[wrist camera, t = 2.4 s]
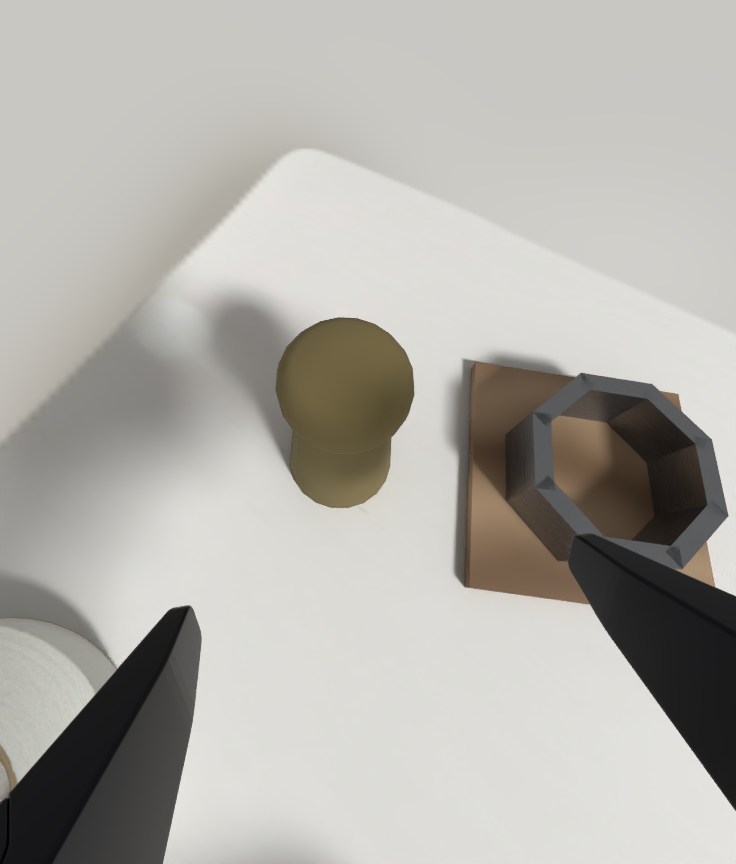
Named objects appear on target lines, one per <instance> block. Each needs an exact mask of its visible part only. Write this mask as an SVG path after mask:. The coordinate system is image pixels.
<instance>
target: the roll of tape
mask: <svg viewBox="0 0 736 864" xmlns="http://www.w3.org/2000/svg"><path fill="white" fill-rule="evenodd" d="M116 670H117V669H116V667H115V666H114V665H113V663H112V662H111V661H110V660H109V659H108V658H107V657H106V656H105V655H104V653H103V652H102V651H101V650H99V649H98V648H97V647H96V646H95V645H93V644H92V643H91V642H90V641H88V640H87V639H85V638H84V637H82V636H80V635H79V634H77V633H75V632H73V631H71V630H68V629H66V628H64V627H61V626H58V625H55V624H52V623H49V622H44V621H39V620H34V619H25V618H0V761H1V762H2V764H3V765H4V768H5V770H6V772H7V775H8V779H9V783H10V788H11V790H12V789H13V788H14V787H15V786H16V785H17V784H18V782H19V781H20V780H21V779H22V778H23V777H24V775H25V774H26V773H27V772H28V771H29V770H30V769H31V767H32V766H33V765H34V764H35V763H36V762H37V761H38V759H39V758H40V757H41V756H42V755H43V754H44V753H45V751H46V750H47V749H48V748H49V747H50V746H51V745H52V743H53V742H54V741H55V740H56V739H57V738H58V736H59V735H60V734H61V733H62V732H63V731H64V730H65V728H66V727H67V726H68V725H69V724H70V723H71V722H72V720H73V719H74V718H75V717H76V716H77V715H78V714H79V712H80V711H81V710H82V709H83V708H84V707H85V706H86V704H87V703H88V702H89V701H90V700H91V699H92V697H93V696H94V695H95V694H96V693H97V692H98V691H99V689H100V688H101V687H102V686H103V685H104V684H105V683H106V681H107V680H108V679H109V678H110V677H111V676H112V675H113V673H114V672H115V671H116Z"/></svg>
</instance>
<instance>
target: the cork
mask: <svg viewBox="0 0 736 864" xmlns="http://www.w3.org/2000/svg"><path fill="white" fill-rule="evenodd" d="M276 393H277V397H278V400H279V404H280V408H281V411H282V414H283V417H284V418H285V419H286V421H287V422H288V424H289V425H290V426H291V428H292V429H293V436H292V445H291V458H290V467H291V470H292V474H293V477H294V480H295V482H296V483H297V485H298V486H299V488H300V489H301V490H302V492H303V493H304V494H305V495H307V496H308V497H309V498H311V499H312V500H313V501H315V502H316V503H319V504H322V505H325V506H328V507H331V508H349V507H352V506H355V505H358V504H362V503H364V502H366V501H367V500H368V499H370V498H371V497H372V496H374V495H375V494H377V492H378V491H379V489H380V488H381V487H382V485H383V484H384V482H385V481H386V478H387V475H388V471H389V468H390V455H391V437H392V436H393V435H394V434H395V433H396V432H397V430H398V429H399V428H400V426H401V425H402V424H403V422H404V421H405V420H406V418H407V416H408V414H409V411H410V407H411V404H412V401H413V397H414V380H413V368H412V366H411V364H410V361H409V359H408V356H407V354H406V352H405V350H404V349H403V348H402V347H401V346H400V345H399V343H398V342H397V341H396V340H395V339H394V338H393V336H392V335H390V334H389V333H388V332H386V331H385V330H383V329H382V328H380V327H379V326H377V325H375V324H373V323H370V322H367V321H364V320H361V319H357V318H339V317H338V318H334V319H329V320H325V321H320V322H318V323H317V324H315V325H313V326H311V327H309V328H307V329H306V330H304V331H302V332H301V333H300V334H299V335H298V336H297V337H296V338H295V339H294V340H293V341H292V342H291V343H290V344H289V345H288V346H287V348H286V350H285V352H284V354H283V356H282V358H281V361H280V363H279V366H278V370H277V381H276Z"/></svg>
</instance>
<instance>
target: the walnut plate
mask: <svg viewBox="0 0 736 864" xmlns="http://www.w3.org/2000/svg"><path fill="white" fill-rule="evenodd" d="M573 379H574V377H567V376H561V375H555V374H549V373H542V372H536V371H530V370H523V369H517V368H511V367H504V366H498V365H492V364H486V363H479V362H475V364H474V365H473V367H472V373H471V405H470V437H469V469H468V501H467V533H466V564H465V587H467V588H474V589H482V590H489V591H496V592H503V593H511V594H518V595H525V596H533V597H540V598H547V599H554V600H562V601H569V602H576V603H583V604H590V603H589V602H588V600H587V598H586V597H585V595H584V593H583V592H582V590H581V588H580V587H579V585H578V583H577V581H576V580H575V578H574V576H573V575H572V573H571V571H570V569H569V566H568V562H563V561H557V559H556V558H555V557H554V556H553V555H552V554H551V552H550V551H549V550H548V549H547V548H546V547H545V546H544V544H543V543H542V542H541V541H540V540H539V539H538V537H537V536H536V535H535V534H534V533H533V532H532V531H531V529H530V528H529V527H528V526H527V525H526V524H525V523H524V521H523V520H522V519H521V518H520V517H519V516H518V514H517V513H516V512H515V511H514V510H513V509H512V508H511V506H510V505H509V504H508V503H507V502H506V436H505V435H506V434H507V433H508V432H509V431H510V430H511V429H513V428H514V427H515V426H516V425H517V424H519V423H520V422H521V421H522V420H523V419H524V418H526V417H527V416H528V415H529V414H530V413H532V412H533V411H535V410H536V409H537V408H538V407H540V406H541V405H542V404H543V403H545V402H546V401H547V400H548V399H550V398H551V397H552V396H553V395H555V394H556V393H557V392H558V391H560V390H561V389H562V388H563V387H565V386H566V385H567V384H568V383H570V382H571V381H572V380H573ZM660 392H661V393H662V394H663V395H664V396H665V397H666V398H667V399H669V400H670V401H671V402H672V403H673V404H674V405H675V406H676V407H677V408H678V409H679V410H680V411H681V406H680V401H679V396H678V394H675V393H668V392H662V391H660ZM681 412H682V411H681ZM551 425H552V443H553V462H554V481H555V483H556V484H557V485H558V486H559V488H560V489H561V490H562V491H563V492H564V493H565V494H566V495H567V496H568V497H569V498H570V499H571V501H572V502H573V503H574V504H575V505H576V506H577V507H578V508H579V509H580V510H581V511H582V513H583V514H584V515H585V516H586V517H587V518H588V519H589V520H590V521H591V522H592V523H593V524H594V526H595V527H596V528H597V529H598V530H599V531H600V532H601V533H602V534H603V535H604V536H605V537H612V538H618V539H625V540H632V539H633V538H634V537H635V536H636V535H637V534H638V533H639V531H640V530H641V529H642V528H643V527H644V526H645V525H646V524H647V523H648V522H649V521H650V520H651V519H652V518H653V517H654V510H653V504H652V497H651V490H650V483H649V476H648V469H647V463H646V462H645V461H644V460H643V459H642V458H641V457H640V456H639V455H638V454H637V453H636V452H635V451H634V450H633V449H632V448H631V447H630V446H629V445H628V444H627V443H626V442H625V441H624V440H623V439H622V438H621V437H620V436H619V435H618V434H617V433H616V432H615V431H614V430H613V429H612V428H611V427H610V426H609V425H608V424H607V423H605V422H599V421H592V420H586V419H579V418H573V417H566V416H560V415H559V416H558V417H557V418H555V419H554V420H553V421H552V422H551ZM677 571H679V572H681V573H684V574H686V575H688V576H691V577H693V578H695V579H697V580H700V581H702V582H704V583H707V584H709V585H711V586H713V587H715V583H714V578H713V573H712V568H711V563H710V557H709V552H708V547H707V542H705V544H704V545H703V546H702V547H701V548H700V549H699V551H698V552H697V553H696V554H695V555H694V556H693V558H692V559H691V560H690V561H689V562H688V563H687V565H686V566H685V567H684V568H683V569H680V570H677Z"/></svg>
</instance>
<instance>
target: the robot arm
mask: <svg viewBox="0 0 736 864" xmlns="http://www.w3.org/2000/svg"><path fill="white" fill-rule="evenodd" d="M568 566H569V569H570V571H571V573H572V575H573V576H574V578H575V580H576V581H577V583H578V585H579V587H580V588H581V590H582V592H583V593H584V595H585V597H586V598H587V600H588V602H589V603H590V605H591V607H592V609H593V610H594V612H595V614H596V615H597V617H598V619H599V620H600V622H601V623H602V625H603V627H604V628H605V630H606V631H607V633H608V634H609V636H610V637H611V638H612V640H613V641H614V643H615V644H616V645H617V647H618V648H619V650H620V651H621V652H622V654H623V655H624V657H625V658H626V659H627V661H628V662H629V663H630V665H631V666H632V668H633V669H634V670H635V672H636V673H637V675H638V676H639V677H640V679H641V680H642V682H643V683H644V684H645V686H646V687H647V688H648V690H649V691H650V693H651V694H652V695H653V697H654V698H655V700H656V701H657V702H658V704H659V705H660V707H661V708H662V709H663V711H664V712H665V713H666V715H667V716H668V718H669V719H670V720H671V722H672V723H673V725H674V726H675V727H676V729H677V730H678V732H679V733H680V734H681V736H682V737H683V738H684V740H685V741H686V743H687V744H688V745H689V747H690V748H691V750H692V751H693V752H694V754H695V755H696V757H697V758H698V759H699V761H700V762H701V764H702V765H703V766H704V768H705V769H706V770H707V772H708V773H709V775H710V776H711V777H712V779H713V780H714V782H715V783H716V784H717V786H718V787H719V789H720V790H721V791H722V793H723V794H724V795H725V797H726V798H727V800H728V801H729V802H730V804H731V805H732V807H733V808H734V809H735V811H736V596H734V595H732V594H729V593H727V592H725V591H722V590H720V589H718V588H716V587H713V586H711V585H709V584H707V583H704V582H702V581H700V580H697V579H695V578H693V577H691V576H688V575H686V574H684V573H681V572H679V571H677V570H675V569H672V568H670V567H668V566H666V565H663V564H661V563H659V562H656V561H654V560H652V559H650V558H647V557H645V556H643V555H641V554H638V553H636V552H634V551H631V550H629V549H627V548H625V547H622V546H620V545H618V544H615V543H613V542H611V541H609V540H606V539H604V538H602V537H600V536H597V535H595V534H592V533H585V534H580V535H576V536H574V537H573V539H572V542H571V547H570V552H569V557H568ZM201 640H202V638H201V631H200V627H199V625H198V622H197V619H196V616H195V613H194V610H193V608H192V607H191V606H189V605H186V606H181V607H175V608H172V609H170V610H169V611H168V612H167V613H166V614H165V615H164V616H163V617H162V618H161V619H160V621H159V622H158V623H157V624H156V625H155V626H154V627H153V629H152V630H151V631H150V632H149V633H148V634H147V636H146V637H145V638H144V639H143V640H142V641H141V642H140V644H139V645H138V646H137V647H136V648H135V649H134V650H133V652H132V653H131V654H130V655H129V656H128V657H127V658H126V660H125V661H124V662H123V663H122V664H121V665H120V667H119V668H118V669H117V670H116V671H115V672H114V673H113V675H112V676H111V677H110V678H109V679H108V680H107V681H106V683H105V684H104V685H103V686H102V687H101V688H100V689H99V691H98V692H97V693H96V694H95V695H94V696H93V697H92V699H91V700H90V701H89V702H88V703H87V704H86V706H85V707H84V708H83V709H82V710H81V711H80V712H79V714H78V715H77V716H76V717H75V718H74V719H73V720H72V722H71V723H70V724H69V725H68V726H67V727H66V728H65V730H64V731H63V732H62V733H61V734H60V735H59V736H58V738H57V739H56V740H55V741H54V742H53V743H52V745H51V746H50V747H49V748H48V749H47V750H46V751H45V753H44V754H43V755H42V756H41V757H40V758H39V759H38V761H37V762H36V763H35V764H34V765H33V766H32V767H31V769H30V770H29V771H28V772H27V773H26V774H25V775H24V777H23V778H22V779H21V780H20V781H19V782H18V784H17V785H16V786H15V787H14V788H13V789H12V790H11V792H10V793H9V798H5V799H4V800H2V802H1V803H0V864H163V860H164V856H165V851H166V846H167V842H168V837H169V832H170V827H171V823H172V818H173V813H174V809H175V804H176V799H177V794H178V790H179V785H180V780H181V775H182V771H183V766H184V761H185V757H186V752H187V747H188V742H189V738H190V733H191V727H192V722H193V715H194V707H195V698H196V689H197V679H198V670H199V661H200V651H201Z"/></svg>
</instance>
